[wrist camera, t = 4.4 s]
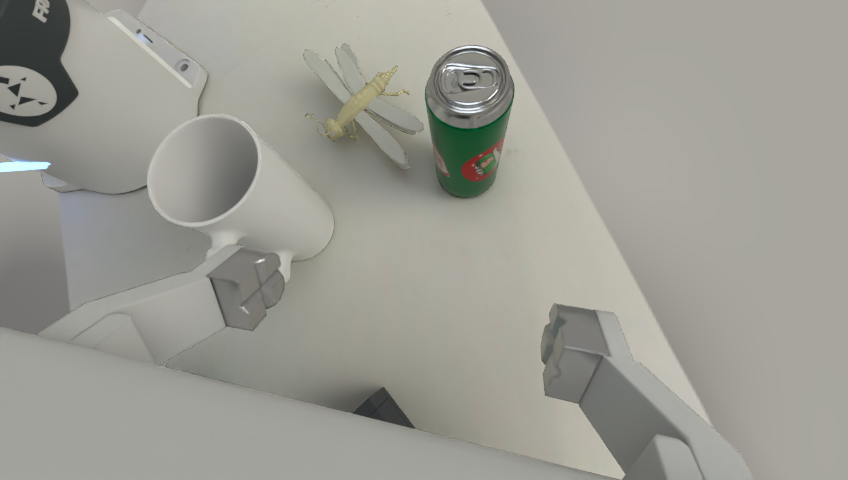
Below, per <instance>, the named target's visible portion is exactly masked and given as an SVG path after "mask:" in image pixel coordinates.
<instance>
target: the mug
mask: <svg viewBox="0 0 848 480" xmlns="http://www.w3.org/2000/svg"><path fill="white" fill-rule="evenodd" d="M147 190H148V195H149V198H150V201H151V203H152V205H153V207H154V208H155V209H156V211H157V212H158V213H159V214H160V215H161V216H162V217H163V218H165V219H166V220H168V221H169V222H171V223H174V224H176V225H179V226H184V227H187V228H190V229H192V230H195V231H198V232H201V233H204V234H207V235H208V236H209V237H210V239H211V249H209V250H208V251H207V253H206V258H205V260H207V259H208V258H210V257H211V256H212V255H214V254H215V253H216V252H218V251H219V250H220V249H222V248H223V247H224V246H226V245H230V244H234V245H237V244H238V245H241V246H245V247H250V248H255V249H260V250H265V251H269V252H274V253H276V254H278V255H279V258H280V262H281V265H280V267H279V268H278V270H279V271H280V273H281V274H282V275H283V276H284V282H285V284H286V283H288V282H289V280H290V265H291V261H303V260H307V259H310V258H312V257H314V256H316V255H317V254H319V253H320V252H321V251H322V250H323V249H324V248H325V247H326V246H327V244H328V243H329V241H330V239H331V237H332V234H333V230H334V217H333V214H332V211H331V209H330V207H329V206H328V204H327V203H326V202H325V201H324V200H323V199H322V198H321V197H320V196H319V195H318V194H317V193H316V192H315V191H314V189H313V188H312V187H310V186H309V185H308V184H307V183H306V182H305V181H304V180H303V179H302V178H301V177H300V176H299V175H298V174H297V173H296V172H295V171H294V170H293V169H292V168H291V167H290V166H289V165H288V164H287V163H286V162H285V161H284V160H283V159H282V158H281V157H280V156H279V155H278V154H277V153H276V152H275V151H274V150H273V149H272V148H271V147H270V146H269V145H268V144H267V143H266V142H265V141H264V140H263V139H262V138H260V137H259V136H258V135H257V134H256V133H255V132H254V131H253V130H252V129H251V128H250V127H249V126H248V125H247V124H246V123H244V122H243V121H242V120H240V119H238V118H236V117H234V116H231V115H227V114H220V113H211V114H204V115H200V116H197V117H194V118H192V119H190V120H188V121H186V122H184V123H182V124H181V125H179V126H178V127H176V128H175V129H174V130H173V131H171V132H170V133H169V134H168V135H167V136H166V137H165V138H164V140H163V141H162V142H161V143H160V145H159V146H158V148H157V149H156V151H155V153H154V155H153V157H152V159H151V162H150V165H149V168H148V174H147Z"/></svg>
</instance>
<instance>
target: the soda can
mask: <svg viewBox="0 0 848 480" xmlns="http://www.w3.org/2000/svg"><path fill="white" fill-rule="evenodd" d="M513 98H514V83H513V80H512V77H511V75H510V72H509V69H508V66H507V64H506V62H505V61H504V59H503V58H502V57H501V56H500V55H499V54H498V53H496V52H495V51H493V50H491V49H489V48H486V47H483V46H477V45H467V46H461V47H457V48H455V49H452V50H450V51H449V52H447V53H446V54H444V55H443V56H442V57H441V58H440V59H439V60H438V61H437V62H436V64H435V65H434V67H433V69H432V72H431V75H430V77H429V79H428V81H427V85H426V89H425V100H426V107H427V113H428V119H429V126H430V132H431V138H432V144H433V151H434V157H435V163H436V170H437V175H438V179H439V182H440V184H441V185H442V187H443V188H444V189H445V190H446V191H448V192H449V193H451V194H452V195H455V196H458V197H464V198H469V197H475V196H478V195H480V194H482V193H484V192H485V191H486V190H488V188H489V187H490V186H491V185H492V183H493V182H494V179H495V177H496V172H497V168H498V164H499V159H500V155H501V151H502V146H503V142H504V137H505V133H506V129H507V124H508V120H509V116H510V111H511V107H512V103H513Z"/></svg>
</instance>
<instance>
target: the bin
mask: <svg viewBox="0 0 848 480" xmlns="http://www.w3.org/2000/svg"><path fill="white" fill-rule="evenodd" d="M352 414H356V415H360V416H364V417H368V418H372V419H376V420H380V421H384V422H388V423H392V424H397V425H401V426H405V427H409V428H413V429H415V427H414V426H413V425H412V423H411V422H410V421H409V419H408V418H407V417H406V416H405V414H404V413H403V412H402V410H401V409H400V408H399V406H398V405H397V404H396V402H395V401H394V400H393V399H392V397H391V396H390V395H389V393H388V392H387V391H386V389H385V388H384V387H383V388H382V389H380V390H379V391H378V392H376V393H375V394H374V395H373V396H371V397H370V398H369V399H368V400H367V401H365V402H364V403H363V404H362V405H361V406H360V407H359V408H358V409H357V410H356V411H355V412H353V413H352Z"/></svg>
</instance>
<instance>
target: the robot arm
mask: <svg viewBox="0 0 848 480" xmlns="http://www.w3.org/2000/svg"><path fill="white" fill-rule="evenodd" d="M207 77H208V74H207V71H206V70H205V69H204V68H203V67H201V66H200V65H199V64H198V63H196V62H195V61H194V60H192V59H191V58H189V57H188V56H187V55H185V54H184V53H183V52H181V51H180V50H178V49H177V48H176V47H174V46H173V45H171V44H170V43H169V42H167V41H166V40H164V39H163V38H162V37H160V36H159V35H157V34H156V33H155V32H153V31H152V30H150V29H149V28H148V27H146V26H145V25H144V24H142V23H141V22H139V21H138V20H137V19H135V18H134V17H132V16H131V15H129V14H128V13H127V12H125V11H123V10H121V9H116V10H111V11H108V12H104V13H101V12H100V11H98V10H97V9H96V8H94V7H93V6H92V5H90V4H89V3H88V2H87V1H85V0H0V156H3V157H5V158H7V159H10V160H12V161H14V162H10V163H0V172H7V171H20V170H35V171H37V172H40V173H41V176H42V180H43V183H44V185H45V186H46V187H49V188H51V189H53V190H55V191H58V192H68V191H74V190H79V189H87V190H92V191H95V192H99V193H105V194H119V193H125V192H129V191H133V190H136V189H139V188H141V187H143V186H145V185H147V174H148V168H149V165H150V162H151V159H152V157H153V155H154V153H155V151H156V149H157V148H158V146H159V145H160V143H161V142H162V141H163V140H164V138H165V137H166V136H167V135H168V134H169V133H170V132H171V131H173V130H174V129H175V128H176V127H178V126H179V125H181V124H182V123H184V122H186V121H188V120H190V119H192V118H194V117H197V111H198V100H199V97H200V95H201V92H202V90H203V88H204V86H205V84H206V81H207ZM280 265H281V262H280V258H279V255H278V254H276V253H274V252H269V251H265V250H260V249H255V248H250V247H244V246H239V245H234V244H230V245H226V246H224V247H223V248H222V249H220V250H219V251H218V252H216V253H215V254H214V255H212V256H211V257H210V258H208V259H207V260H205V261H204V262H203V263H201V264H200V265H199V266H197V267H196V268H195V269H193V270H192V271H191V272H189V273H185V272H183V273H180V274H176V275H173V276H170V277H167V278H164V279H160V280H157V281H154V282H151V283H148V284H144V285H141V286H138V287H135V288H132V289H128V290H125V291H122V292H119V293H116V294H112V295H109V296H106V297H103V298H100V299H96V300H93V301H90V302H87V303H84V304H82V305H81V306H79V307H78V308H76V309H75V310H73V311H71V312H70V313H68V314H67V315H65V316H64V317H62V318H61V319H59V320H57V321H56V322H54V323H53V324H51V325H49V326H48V327H46V328H45V329H43V330H41V331H40V332H38V333H37V334H35V335H34V334H30V333H26V332H22V331H17V330H14V329H10V328H5V327H2V326H0V480H619V479H615V478H611V477H607V476H603V475H599V474H595V473H590V472H586V471H582V470H578V469H574V468H570V467H566V466H562V465H558V464H554V463H550V462H546V461H542V460H538V459H534V458H530V457H526V456H522V455H518V454H514V453H510V452H506V451H502V450H498V449H494V448H490V447H486V446H482V445H478V444H474V443H470V442H465V441H461V440H457V439H453V438H449V437H445V436H441V435H437V434H433V433H429V432H425V431H421V430H417V429H413V428H409V427H405V426H401V425H397V424H392V423H388V422H384V421H380V420H376V419H372V418H368V417H364V416H360V415H356V414H352V413H348V412H344V411H340V410H336V409H332V408H328V407H324V406H320V405H316V404H312V403H308V402H304V401H300V400H296V399H292V398H288V397H284V396H280V395H276V394H272V393H268V392H264V391H260V390H256V389H252V388H248V387H244V386H240V385H236V384H232V383H228V382H224V381H219V380H215V379H211V378H207V377H203V376H199V375H195V374H191V373H187V372H183V371H179V370H175V369H171V368H167V367H163V366H159V365H160V364H162V363H164V362H165V361H167V360H169V359H171V358H173V357H174V356H176V355H178V354H180V353H182V352H183V351H185V350H187V349H189V348H191V347H192V346H194V345H196V344H198V343H199V342H201V341H203V340H205V339H207V338H208V337H210V336H212V335H214V334H216V333H217V332H219V331H221V330H223V329H225V328H226V326H228V327H234V328H239V329H244V330H249V331H253V330H254V329H255V328H256V327H257V326H258V324H259V323H260V322H261V321H262V320H263V319H264V318H265V316H266V309H268V308H270V307H272V306H275V305H276V304H277V302H278V301H279V300H280V299H281V296H282V294H283V291H284V285H285V282H284V276H283V275H282V274H281V273H280V271H279V270H278V268H279V267H280ZM549 317H550V323H549V324H548V325H546V326H545V328H544V331H543V335H542V341H541V360H542V361H543V363H544V364H545V365H546V366H545V369H544V371H543V382H544V391H545V396H549V397H553V398H557V399H561V400H565V401H569V402H573V403H577V404H579V406H580V408H581V409H582V411H583V412H584V414H585V415H586V417H587V418H588V420H589V421H590V423H591V424H592V426H593V427H594V428H595V430H596V431H597V433H598V434H599V436H600V437H601V439H602V440H603V442H604V443H605V445H606V446H607V448H608V449H609V451H610V452H611V453H612V455H613V456H614V458H615V459H616V461H617V462H618V464H619V465H620V467H621V468H622V470H623V471H624V473H625V474H626V475H625V476H624V478H623V479H622V480H754V478H753V476H752V474H751V472H750V471H749V469H748V467H747V465H746V463H745V461H744V460H743V458H742V456H741V454H740V452H739V451H738V450H737V449H736V448H735V447H734V446H733V445H731V444H730V443H729V442H728V441H727V440H726V439H725V438H724V437H723V436H721V435H720V434H719V433H718V432H717V431H716V430H715V429H714V428H712V427H711V426H710V425H709V424H708V423H707V422H706V421H705V420H704V419H702V418H701V417H700V416H699V415H698V414H697V413H696V412H695V411H694V410H692V409H691V408H690V407H689V406H688V405H687V404H686V403H685V402H684V401H682V400H681V399H680V398H679V397H678V396H677V395H676V394H675V393H674V392H672V391H671V390H670V389H669V388H668V387H667V386H666V385H665V384H663V383H662V382H661V381H660V380H659V379H658V378H657V377H656V376H655V375H653V374H652V373H651V372H650V371H649V370H648V369H647V368H646V367H645V366H643V365H642V364H641V363H639V362H634V360H633V357H632V355H631V352H630V349H629V347H628V344H627V342H626V339H625V336H624V334H623V331H622V329H621V326H620V323H619V321H618V318H617V316H616V315H615V314H614V313H612V312H606V311H599V310H590V309H584V308H578V307H573V306H567V305H561V304H556V303H554V304H553V306H552V308H551V310H550V313H549Z"/></svg>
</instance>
